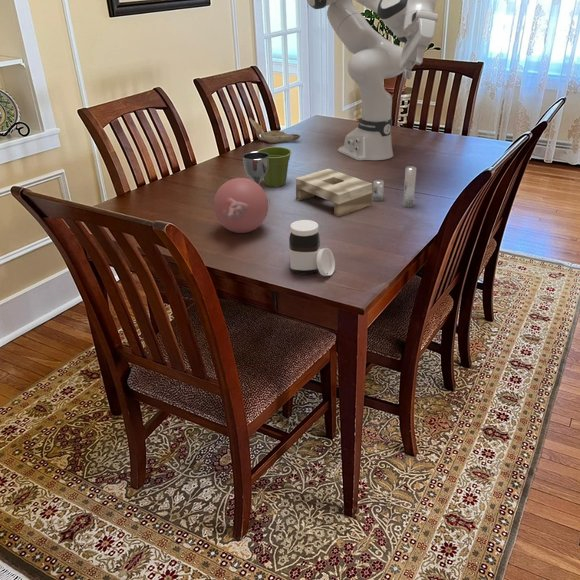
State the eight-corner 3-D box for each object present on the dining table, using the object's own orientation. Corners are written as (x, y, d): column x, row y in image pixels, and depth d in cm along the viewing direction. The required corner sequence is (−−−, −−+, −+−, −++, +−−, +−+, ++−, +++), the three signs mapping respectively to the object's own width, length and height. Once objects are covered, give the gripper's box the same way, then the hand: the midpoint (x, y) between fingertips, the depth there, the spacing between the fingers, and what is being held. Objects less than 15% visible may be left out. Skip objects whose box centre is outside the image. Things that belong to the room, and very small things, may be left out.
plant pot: (251, 184, 204) (249, 152, 198) (275, 175, 212) (273, 144, 206) (275, 192, 197) (274, 159, 191) (299, 183, 204) (299, 150, 199)
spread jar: (290, 258, 154) (289, 217, 149) (333, 258, 154) (334, 216, 148) (288, 281, 144) (287, 237, 138) (335, 280, 144) (336, 237, 138)
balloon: (202, 246, 162) (196, 193, 154) (226, 218, 179) (221, 169, 171) (256, 251, 159) (253, 197, 151) (275, 222, 176) (273, 171, 168)
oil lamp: (253, 138, 255) (251, 115, 250) (302, 139, 251) (301, 115, 246) (248, 144, 248) (246, 120, 243) (298, 145, 244) (298, 121, 239)
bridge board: (296, 199, 191) (295, 178, 188) (328, 188, 199) (328, 168, 195) (338, 216, 178) (339, 194, 174) (371, 204, 185) (372, 183, 182)
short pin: (370, 199, 189) (371, 181, 186) (377, 196, 191) (378, 178, 188) (378, 201, 187) (378, 183, 184) (385, 199, 189) (386, 181, 186)
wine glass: (274, 198, 192) (273, 153, 185) (263, 207, 186) (261, 160, 179) (253, 195, 195) (250, 150, 188) (241, 203, 189) (238, 157, 182)
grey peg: (400, 205, 184) (403, 167, 178) (407, 202, 186) (410, 165, 180) (408, 208, 182) (411, 170, 176) (415, 205, 184) (418, 168, 178)
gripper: (397, 43, 189) (392, 84, 187) (419, 7, 169) (414, 52, 167) (416, 47, 190) (411, 88, 188) (440, 11, 170) (435, 56, 168)
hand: (413, 71), depth 178 cm, fingers open, 8 cm apart
